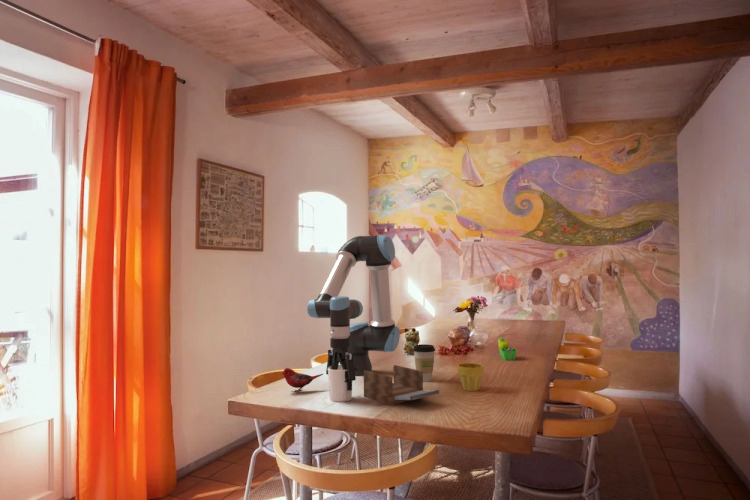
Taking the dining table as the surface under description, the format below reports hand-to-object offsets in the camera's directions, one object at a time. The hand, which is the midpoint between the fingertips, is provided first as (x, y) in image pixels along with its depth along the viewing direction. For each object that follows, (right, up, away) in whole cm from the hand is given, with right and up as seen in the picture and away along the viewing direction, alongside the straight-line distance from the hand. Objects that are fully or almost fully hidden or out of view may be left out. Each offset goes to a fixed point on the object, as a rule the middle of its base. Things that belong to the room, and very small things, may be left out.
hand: (340, 396), depth 196 cm
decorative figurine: (+34, -3, +94) cm, 100 cm away
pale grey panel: (+25, +2, -4) cm, 26 cm away
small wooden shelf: (+20, -1, +2) cm, 20 cm away
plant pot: (+52, -1, +13) cm, 54 cm away
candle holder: (0, -1, 0) cm, 1 cm away
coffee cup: (+35, -2, +30) cm, 46 cm away
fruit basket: (+83, -2, +78) cm, 114 cm away
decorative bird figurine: (-16, -2, +13) cm, 21 cm away
